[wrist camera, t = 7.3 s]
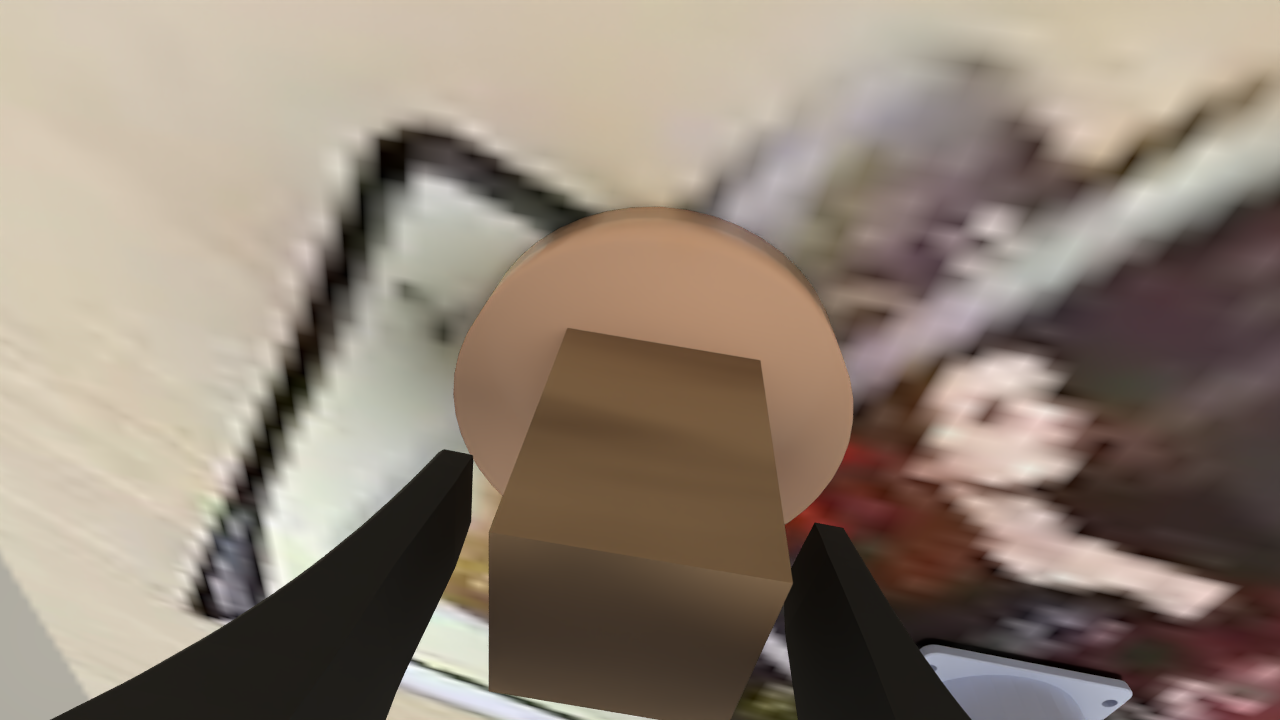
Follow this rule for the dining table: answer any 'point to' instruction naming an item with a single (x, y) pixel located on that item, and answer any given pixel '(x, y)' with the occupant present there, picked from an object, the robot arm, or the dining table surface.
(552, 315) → the tan round disc
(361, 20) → the dining table surface
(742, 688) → the walnut block
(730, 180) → the dining table surface
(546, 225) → the dining table surface
